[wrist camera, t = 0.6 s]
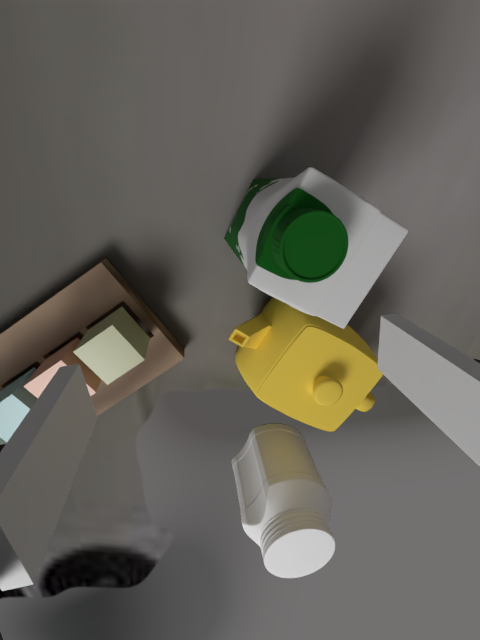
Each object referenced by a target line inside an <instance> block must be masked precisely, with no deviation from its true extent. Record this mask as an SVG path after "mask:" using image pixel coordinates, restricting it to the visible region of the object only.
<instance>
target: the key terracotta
mask: <svg viewBox="0 0 480 640" xmlns="http://www.w3.org/2000/svg"><path fill="white" fill-rule="evenodd" d="M79 342H80V340H79V339H78V338H76V339H74V340H73V341H71V342H70V343H69V344H67V345H66V346H64V347H63V348H61V349H60V350H58V351H57V352H56V353H54V354H53V355H51V356H50V357H48V358H47V359H45V360H44V361H43V362H42V364H41V365H40V366H39V367H38V369H37V370H36V371H35V372H34V374H33V375H32V376H31V377H30V379H29V380H28V381H27V382H26V384H25V385H24V386H23V387H25V388H26V389H27V390H28V391H29V392H31V393H32V394H33V395H34V396H35V397H37V398H39V396H40V395H41V393H42V392H43V390H44V389H45V388H46V386H47V385H48V383H49V382H50V380H51V379H52V378H53V376H54V375H55V373H56V372H57V370H58V369H59V368H60V367H62V366H69V365H75V364H80V367H81V370H82V373H83V376H84V379H85V382H86V385H87V388H88V391H89V394H90V396H92V395H93V394H95V393H96V392H97V389H98V387H99V385H100V382H101V380H102V379H101V378H99V377H98V376H97V375H96V374H95V373H94V372H93V371H92V370H91V369H90V368H89V367H88V366H87V365H86V364H85V363H84V362H83V361H82V360H81V359H80V358H79V357H78V356H77V355H75V354H74V353H73V351H74V350H75V348H76V347H77V345H78V344H79Z"/></svg>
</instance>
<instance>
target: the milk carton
mask: <svg viewBox="0 0 480 640" xmlns="http://www.w3.org/2000/svg"><path fill="white" fill-rule="evenodd" d="M380 211H381V210H380V209H379V208H377V207H376V206H375V205H373V204H372V203H370V202H369V201H367V200H366V199H364V198H363V197H361V196H359V195H357V194H355V193H354V192H352V191H351V190H349V189H347V188H346V187H344V186H343V185H341V184H340V183H338V182H336V181H335V180H333V179H332V178H330V177H328V176H327V175H325V174H323V173H322V172H320V171H318V170H317V169H315V168H313V167H309V168H307V169H306V170H305V171H303V172H302V173H300V174H299V175H297V176H296V177H295V178H280V179H254V180H253V182H252V183H251V185H250V187H249V189H248V191H247V193H246V195H245V197H244V199H243V200H242V202H241V204H240V206H239V208H238V210H237V212H236V214H235V216H234V219H233V221H232V223H231V225H230V227H229V229H228V231H227V233H226V236H225V238H224V239H225V240H226V242H227V243H228V244H229V246H230V247H231V249H232V250H233V251H234V253H235V254H236V256H237V257H238V258H239V260H240V261H241V262H242V264H243V265H244V267H245V268H246V269H247V278H248V282H249V284H251V285H253V286H255V287H256V288H258V289H259V290H261V291H262V292H264V293H266V294H268V295H270V296H272V297H274V298H276V299H278V300H280V301H282V302H284V303H286V304H288V305H289V306H291V307H293V308H295V309H297V310H299V311H301V312H303V313H306V314H309V315H312V316H318V317H320V318H322V319H324V320H326V321H328V322H330V323H332V324H334V325H336V326H338V327H340V328H343V329H344V328H345V327H346V325H347V324H348V322H349V321H350V319H351V318H352V316H353V315H354V313H355V312H356V310H357V309H358V307H359V306H360V304H361V303H362V301H363V299H364V298H365V296H366V295H367V293H368V292H369V290H370V289H371V287H372V286H373V284H374V283H375V281H376V280H377V278H378V277H379V275H380V274H381V272H382V271H383V269H384V268H385V266H386V265H387V263H388V262H389V260H390V259H391V257H392V256H393V254H394V253H395V251H396V250H397V248H398V247H399V245H400V244H401V242H402V241H403V239H404V237H405V236H406V234H407V233H408V230H407V229H405V228H404V227H402V226H401V225H399V224H398V223H396V222H395V221H393V220H392V219H390V218H389V217H387V216H385V215H384V214H382V213H381V212H380Z"/></svg>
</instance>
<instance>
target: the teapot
mask: <svg viewBox="0 0 480 640" xmlns="http://www.w3.org/2000/svg"><path fill="white" fill-rule="evenodd" d="M229 340H231V341H232V342H234V343H236V344H237V345H239V346H238V348H237V350H236V354H235V361H236V364H237V367H238V369H239V371H240V373H241V375H242V377H243V378H244V380H245V381H246V383H247V384H248V386H249V387H250V388H251V390H252V391H253V392H254V394H255V395H256V396H257V397H258V398H259V399H260V400H262V401H263V402H265V403H266V404H268V405H270V406H271V407H273V408H275V409H277V410H278V411H280V412H282V413H284V414H286V415H287V416H289V417H291V418H294V419H296V420H298V421H300V422H303V423H305V424H308V425H310V426H313V427H315V428H318V429H321V430H324V431H329V432H332V431H335V430H336V429H337V428H338V427H339V426H340V425H341V424H342V423H343V422H344V421H345V420H346V419H347V417H349V415H350V414H351V413H352V412H353V411H354V410H355V409H358V410H360V411H362V412H365V411H368V410H369V409H371V408H372V407H373V405H374V403H375V398H374V397H373V395H372V394H371V393H370V391H371V390H372V388H373V387H374V386H375V385H376V383H377V382H378V381H379V379H380V378H381V377H382V375H383V374H382V373H381V372H380V371H379V370H378V369H377V364H378V359H377V357H376V356H375V354H374V353H373V351H372V350H371V349H370V347H369V346H368V345H367V343H366V342H365V341H364V340H363V339H362V338H361V337H360V336H359V335H358V334H357V333H356V332H355V331H354V330H353V329H352V328H351V327H350V326H349V325H348V324H347V325H346V327H345V328H344V329H343V328H340V327H338V326H336V325H334V324H332V323H330V322H328V321H326V320H324V319H322V318H320V317H318V316H312V315H309V314H306V313H303V312H301V311H299V310H297V309H295V308H293V307H291V306H289V305H288V304H286V303H284V302H282V301H280V300H278V299H276V298H274V297H272V298H271V299H270V300H269V302H268V303H267V304H266V306H265V307H264V308H263V310H262V311H261V312H260V314H259V315H258V316H256V317H254V318H252V319H250V320H249V321H247V322H245V323H243V324H241V325H239V326H238V327H236V328H235V329H234V331H233V332H232V334H231V335H230V337H229Z"/></svg>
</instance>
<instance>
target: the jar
mask: <svg viewBox="0 0 480 640" xmlns="http://www.w3.org/2000/svg"><path fill="white" fill-rule="evenodd" d="M232 466H233V471H234V474H235V480H236V486H237V492H238V498H239V504H240V509H241V520H242V526H243V529H244V530H245V532H246V534H247V535H248V536H249V537H250V538H251V539H252V540H253V541H254V542H255V543H257V544H258V545H259V546H260V547H261V551H262V556H263V560H264V564H265V567H266V568H267V570H268V571H269V572H270V573H272V574H273V575H275V576H278V577H282V578H297V577H301V576H305V575H308V574H311V573H313V572H315V571H317V570H318V569H320V568H321V567H323V566H324V565H325V564H326V563H327V562H328V561H329V560H330V558H331V557H332V555H333V553H334V550H335V540H334V538H333V535H332V532H331V531H330V528H329V526H328V524H329V521H330V517H331V509H332V500H331V496H330V494H329V492H328V490H327V488H326V486H325V485H324V483H323V481H322V479H321V476H320V474H319V472H318V470H317V468H316V466H315V463H314V461H313V459H312V457H311V455H310V453H309V451H308V448H307V445H306V442H305V440H304V438H303V436H302V435H301V434H300V432H298V431H297V430H296V429H295V428H293V427H291V426H288V425H285V424H280V423H270V424H264V425H261V426H258V427H255V428H253V430H252V431H251V432H250V434H249V438H248V440H247V442H246V444H245V445H244V447H243V448H242V449H241V450H240V451H239V452H238V453H237V454H236V455H235V456H234V458H233V459H232Z"/></svg>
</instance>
